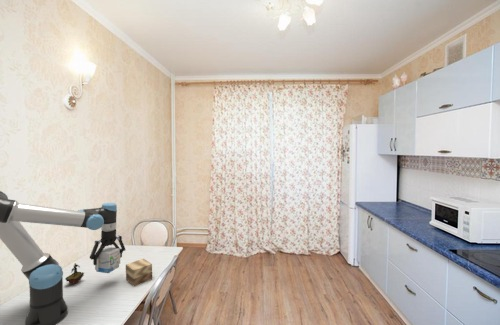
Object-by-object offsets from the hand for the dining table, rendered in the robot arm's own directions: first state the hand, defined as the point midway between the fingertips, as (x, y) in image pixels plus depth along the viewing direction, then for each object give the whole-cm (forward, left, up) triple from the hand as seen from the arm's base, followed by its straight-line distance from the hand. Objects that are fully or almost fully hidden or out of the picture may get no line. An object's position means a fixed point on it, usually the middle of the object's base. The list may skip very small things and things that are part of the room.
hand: (108, 266), depth 138 cm
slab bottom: (+14, -8, -11) cm, 20 cm away
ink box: (0, 0, -2) cm, 2 cm away
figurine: (-12, +16, -11) cm, 23 cm away
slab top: (+14, -8, -6) cm, 18 cm away
